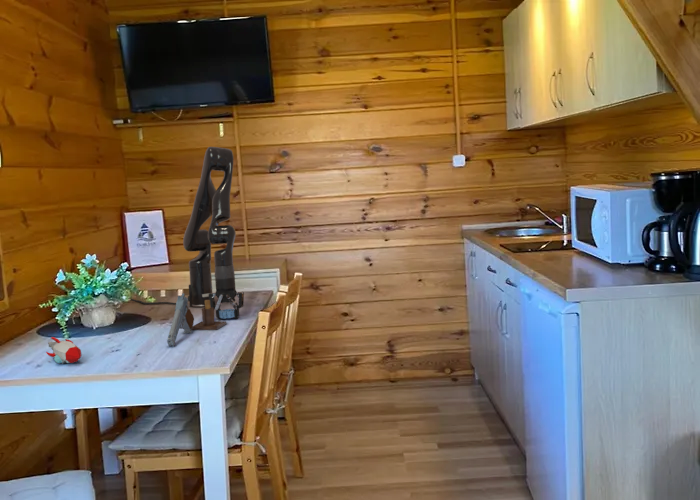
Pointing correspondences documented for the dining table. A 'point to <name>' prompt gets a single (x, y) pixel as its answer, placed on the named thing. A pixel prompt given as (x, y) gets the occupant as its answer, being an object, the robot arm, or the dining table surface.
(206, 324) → the stand
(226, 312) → the ring
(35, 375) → the dining table surface
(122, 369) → the dining table surface
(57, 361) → the toy
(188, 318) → the handgun
